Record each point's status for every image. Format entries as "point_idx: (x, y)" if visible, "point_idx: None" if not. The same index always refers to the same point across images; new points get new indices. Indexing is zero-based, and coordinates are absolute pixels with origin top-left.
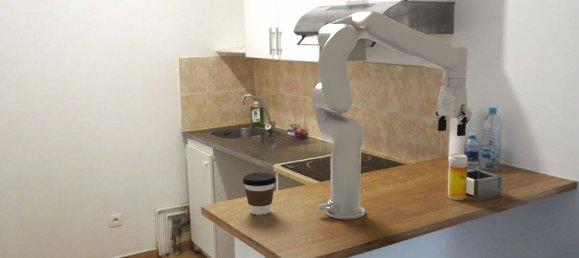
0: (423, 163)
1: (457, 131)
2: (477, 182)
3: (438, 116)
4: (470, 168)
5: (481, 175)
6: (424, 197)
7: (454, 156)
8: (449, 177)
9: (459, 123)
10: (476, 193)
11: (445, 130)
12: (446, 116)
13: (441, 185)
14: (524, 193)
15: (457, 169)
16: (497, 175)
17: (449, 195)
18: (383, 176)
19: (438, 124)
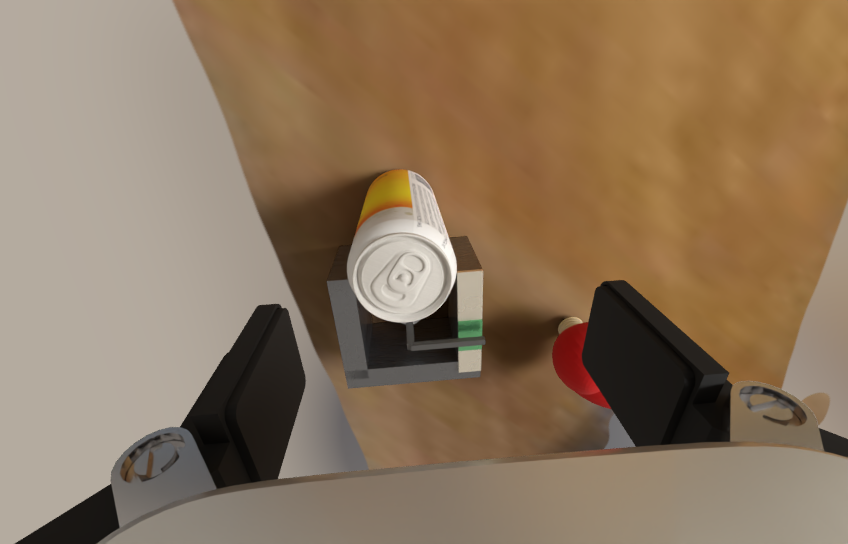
0: (784, 341)
1: (252, 334)
2: (333, 277)
3: (789, 428)
4: (459, 340)
5: (434, 354)
6: (461, 78)
7: (405, 254)
8: (407, 189)
9: (183, 442)
10: (342, 256)
11: (586, 357)
12: (485, 459)
13: (551, 244)
14: (358, 405)
15: (362, 220)
16: (373, 384)
17: (400, 170)
18: (805, 94)
19: (662, 324)
